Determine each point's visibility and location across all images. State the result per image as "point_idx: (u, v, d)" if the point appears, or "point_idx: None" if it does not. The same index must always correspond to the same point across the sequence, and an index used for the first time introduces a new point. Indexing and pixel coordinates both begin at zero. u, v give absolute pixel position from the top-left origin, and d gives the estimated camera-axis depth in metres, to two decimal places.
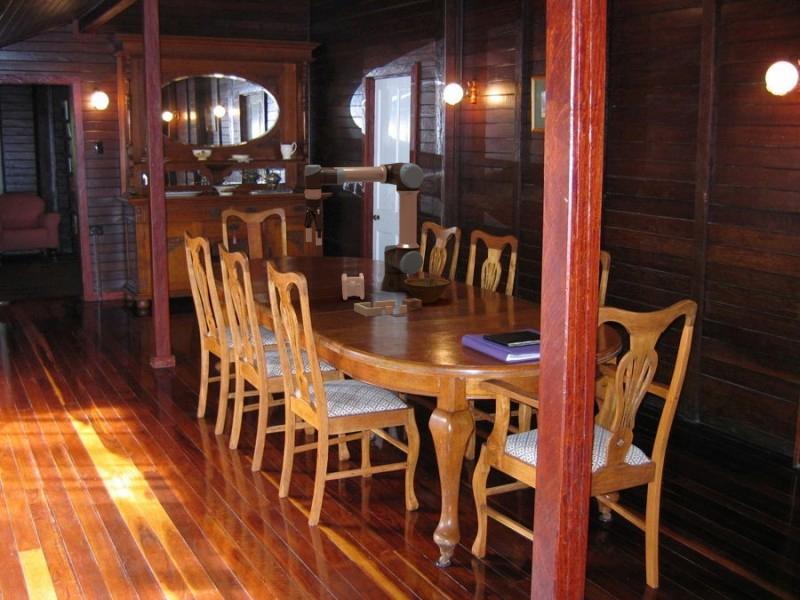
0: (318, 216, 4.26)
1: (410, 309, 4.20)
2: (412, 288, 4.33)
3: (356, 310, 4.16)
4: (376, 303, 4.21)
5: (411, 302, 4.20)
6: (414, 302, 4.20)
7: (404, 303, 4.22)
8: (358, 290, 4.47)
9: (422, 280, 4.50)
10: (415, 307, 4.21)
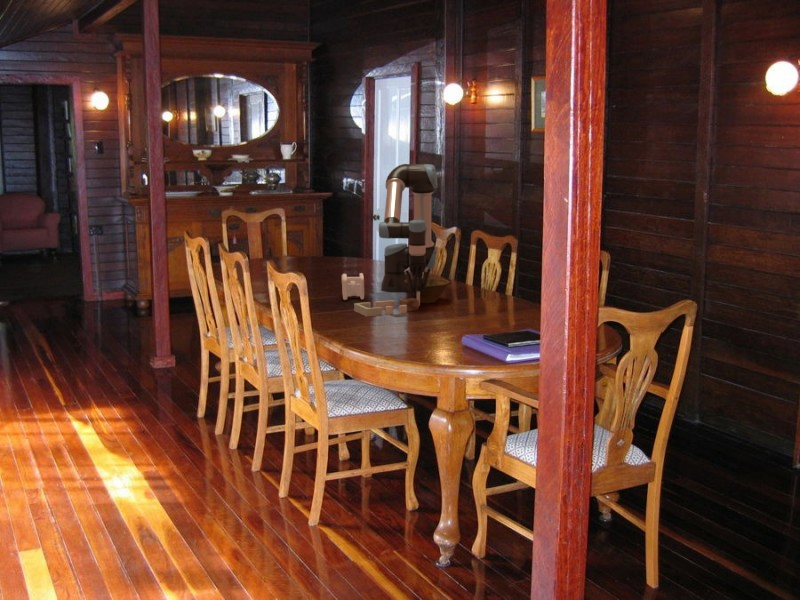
0: (407, 277, 4.20)
1: (407, 309, 4.19)
2: None
3: (356, 310, 4.16)
4: (376, 303, 4.21)
5: (408, 302, 4.19)
6: (411, 302, 4.19)
7: (401, 303, 4.21)
8: (358, 290, 4.47)
9: None
10: (412, 307, 4.20)
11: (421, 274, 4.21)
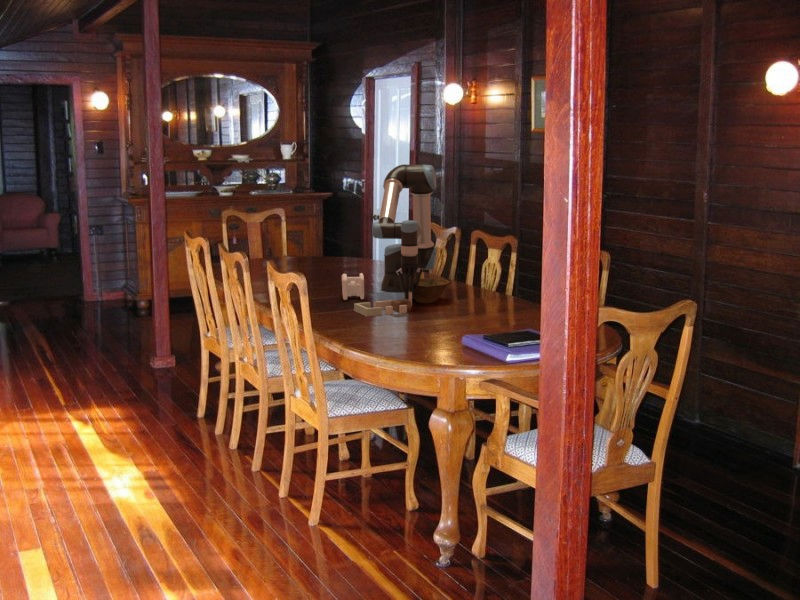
0: (399, 277, 4.18)
1: None
2: None
3: (356, 310, 4.16)
4: (376, 303, 4.21)
5: (400, 303, 4.17)
6: (403, 303, 4.18)
7: (394, 304, 4.19)
8: (358, 290, 4.47)
9: (422, 280, 4.50)
10: None
11: (413, 275, 4.19)
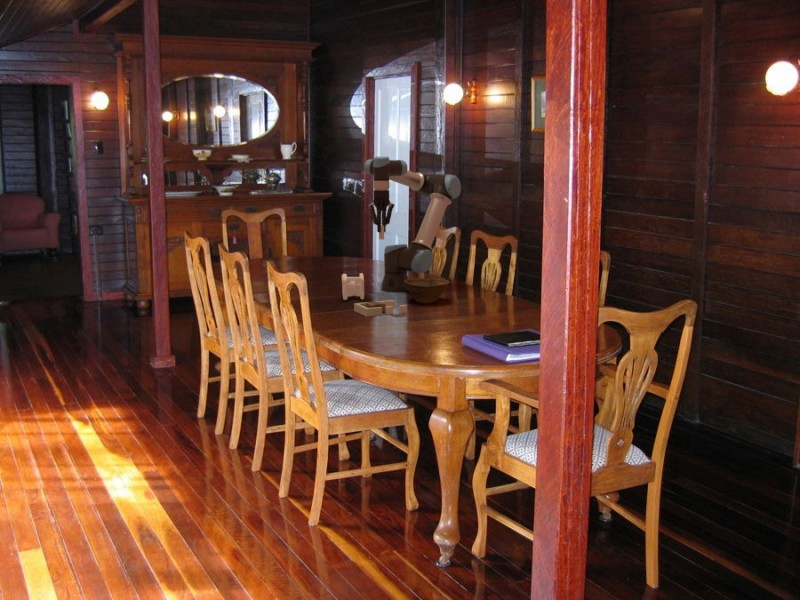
0: (371, 211, 4.36)
1: None
2: (412, 288, 4.33)
3: (356, 310, 4.16)
4: None
5: (374, 305, 4.12)
6: (378, 305, 4.12)
7: (368, 307, 4.14)
8: (358, 290, 4.47)
9: (422, 280, 4.50)
10: None
11: (385, 209, 4.37)
